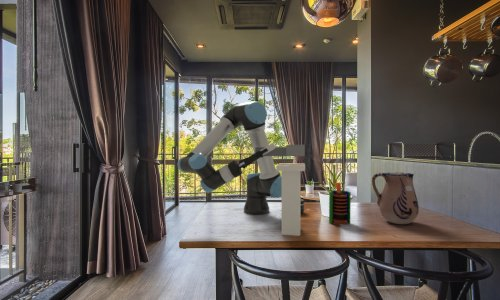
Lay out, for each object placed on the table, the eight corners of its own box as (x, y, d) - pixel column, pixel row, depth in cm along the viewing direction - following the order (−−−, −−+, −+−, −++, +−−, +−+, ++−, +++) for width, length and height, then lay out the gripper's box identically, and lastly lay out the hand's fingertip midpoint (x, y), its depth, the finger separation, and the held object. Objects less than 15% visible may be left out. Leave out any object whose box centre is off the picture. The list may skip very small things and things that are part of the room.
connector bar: (256, 155, 135) (256, 145, 135) (304, 155, 131) (304, 144, 131) (254, 156, 129) (254, 145, 129) (304, 156, 125) (304, 144, 125)
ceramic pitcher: (424, 228, 135) (424, 174, 135) (376, 225, 139) (376, 174, 139) (411, 219, 152) (411, 171, 152) (369, 217, 156) (369, 171, 156)
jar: (286, 210, 172) (286, 198, 172) (303, 211, 172) (303, 198, 172) (287, 214, 162) (287, 201, 162) (305, 214, 162) (305, 201, 162)
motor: (334, 225, 139) (334, 184, 139) (325, 221, 148) (325, 182, 147) (353, 224, 142) (353, 183, 142) (342, 219, 150) (342, 181, 150)
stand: (279, 225, 139) (279, 163, 139) (304, 226, 137) (304, 163, 137) (276, 236, 122) (276, 165, 122) (305, 237, 120) (305, 165, 120)
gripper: (239, 176, 142) (279, 152, 138) (230, 180, 125) (277, 153, 122) (231, 163, 143) (272, 139, 139) (222, 165, 126) (268, 137, 122)
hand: (274, 145), depth 130 cm, fingers closed on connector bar, 4 cm apart
